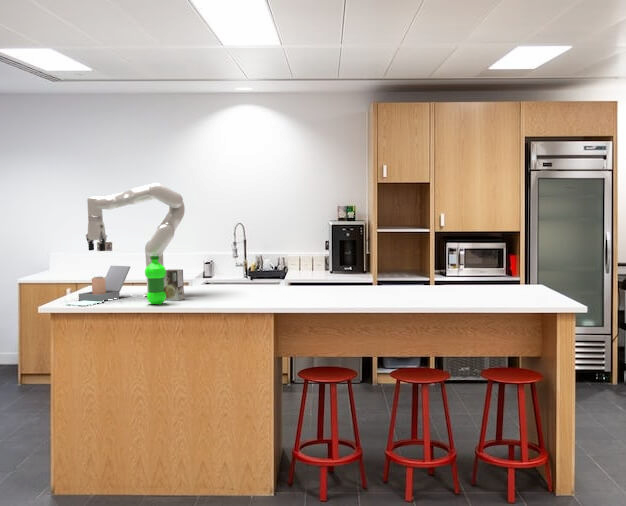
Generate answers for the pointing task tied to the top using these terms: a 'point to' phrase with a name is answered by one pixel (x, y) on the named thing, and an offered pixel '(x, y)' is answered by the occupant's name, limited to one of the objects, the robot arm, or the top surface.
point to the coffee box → (174, 284)
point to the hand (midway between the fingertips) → (96, 250)
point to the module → (98, 286)
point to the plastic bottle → (155, 281)
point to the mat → (84, 303)
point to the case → (109, 284)
